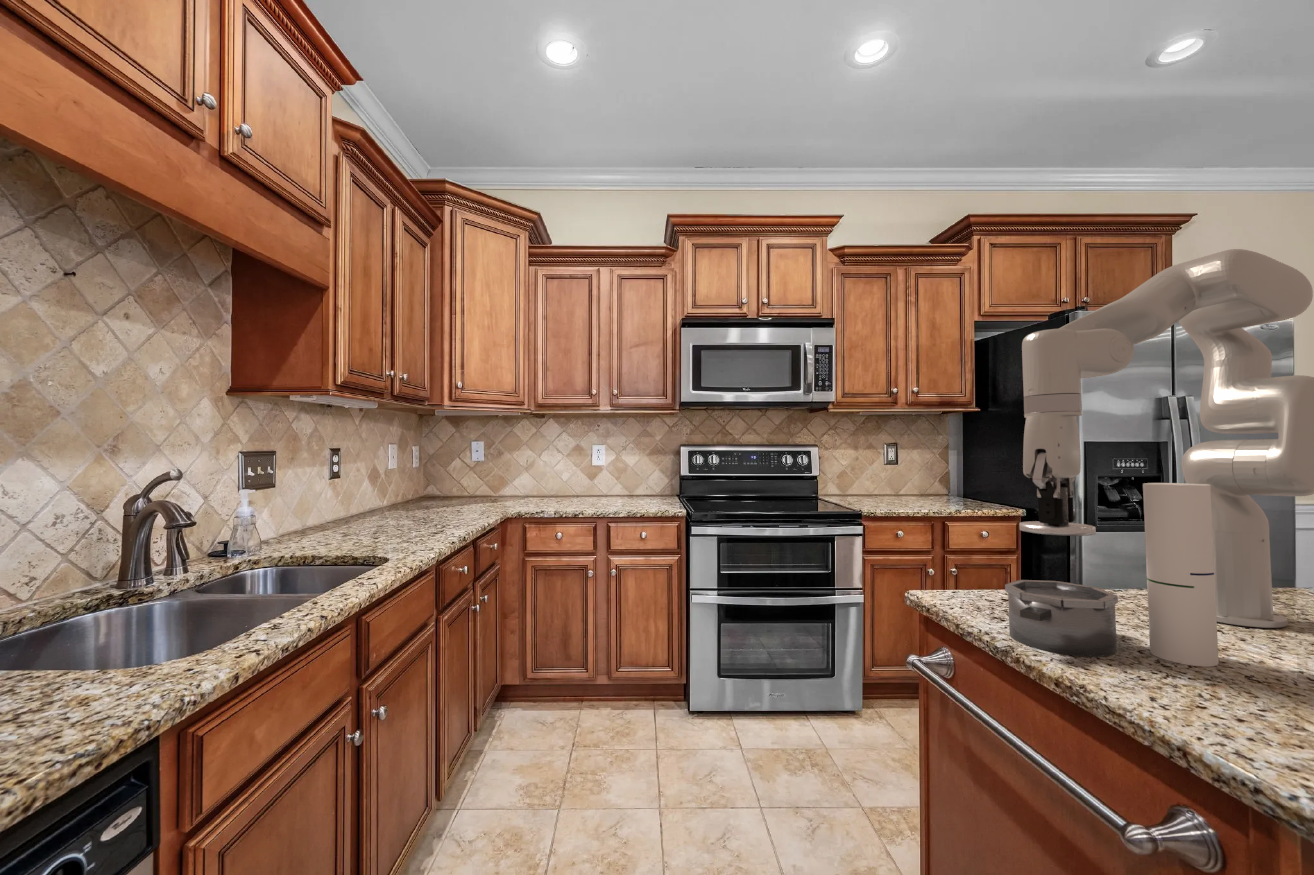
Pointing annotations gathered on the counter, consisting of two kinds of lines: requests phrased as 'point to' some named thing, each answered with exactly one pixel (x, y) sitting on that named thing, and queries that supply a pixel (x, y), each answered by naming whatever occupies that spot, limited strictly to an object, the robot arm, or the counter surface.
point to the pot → (1062, 617)
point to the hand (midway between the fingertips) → (1056, 521)
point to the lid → (1059, 529)
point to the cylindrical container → (1180, 573)
